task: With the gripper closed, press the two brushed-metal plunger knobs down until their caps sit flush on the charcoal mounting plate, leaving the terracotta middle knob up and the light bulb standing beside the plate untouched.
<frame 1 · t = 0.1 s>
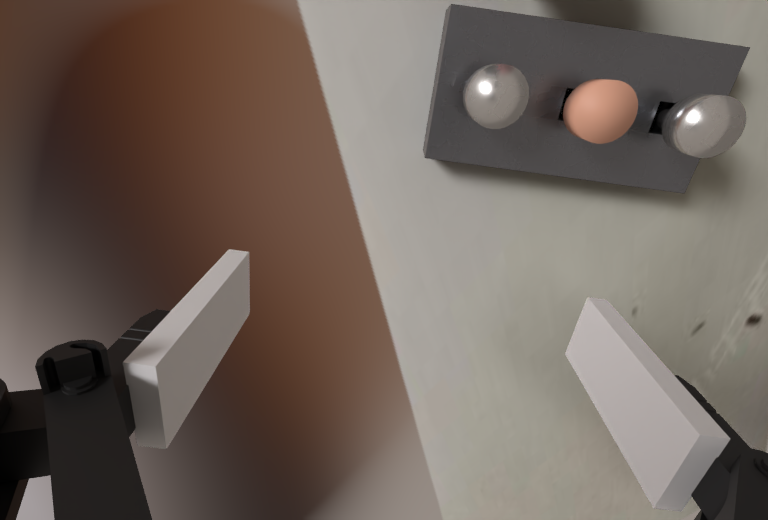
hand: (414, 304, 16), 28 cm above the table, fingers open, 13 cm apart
knob 2: (589, 108, 33), point 6 cm above the table, slide at 0.0 cm
mount plate: (560, 102, 39), on the table
knob 1: (489, 94, 33), point 7 cm above the table, slide at 0.0 cm
knob 3: (687, 122, 33), point 6 cm above the table, slide at 0.0 cm
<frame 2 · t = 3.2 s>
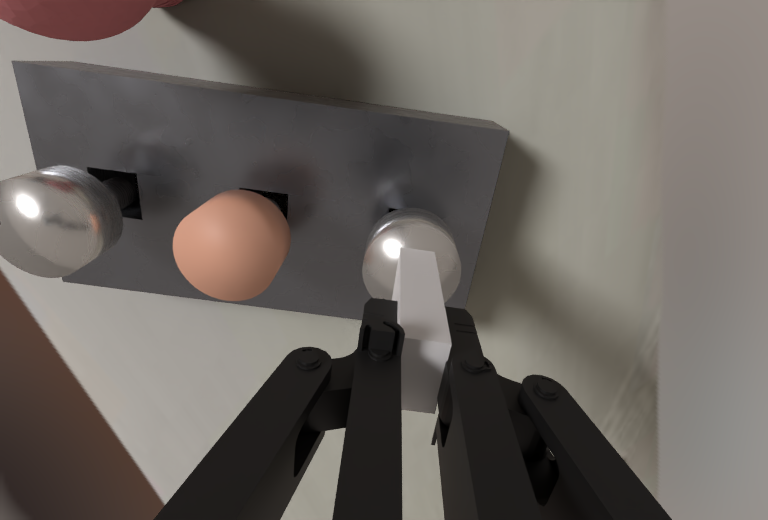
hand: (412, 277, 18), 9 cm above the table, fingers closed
knob 2: (248, 230, 20), point 6 cm above the table, slide at 0.0 cm
mount plate: (282, 193, 26), on the table
knob 1: (83, 208, 20), point 6 cm above the table, slide at 0.0 cm
knob 3: (410, 245, 21), point 6 cm above the table, slide at 0.8 cm, touching gripper
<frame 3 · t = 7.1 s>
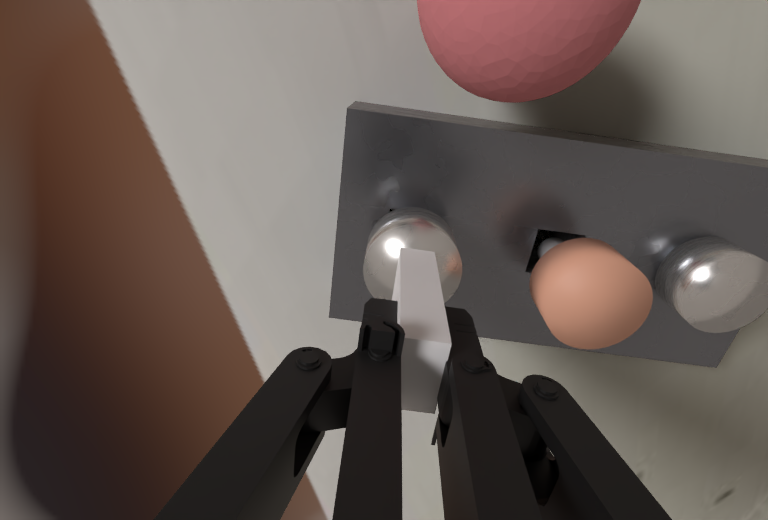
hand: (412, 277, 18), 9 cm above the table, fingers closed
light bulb: (479, 15, 22), on the table
knob 2: (572, 275, 20), point 6 cm above the table, slide at 0.0 cm
mount plate: (533, 228, 26), on the table
knob 1: (410, 245, 21), point 5 cm above the table, slide at 1.1 cm, touching gripper
knob 3: (691, 269, 23), point 3 cm above the table, slide at 3.0 cm, touching mount plate
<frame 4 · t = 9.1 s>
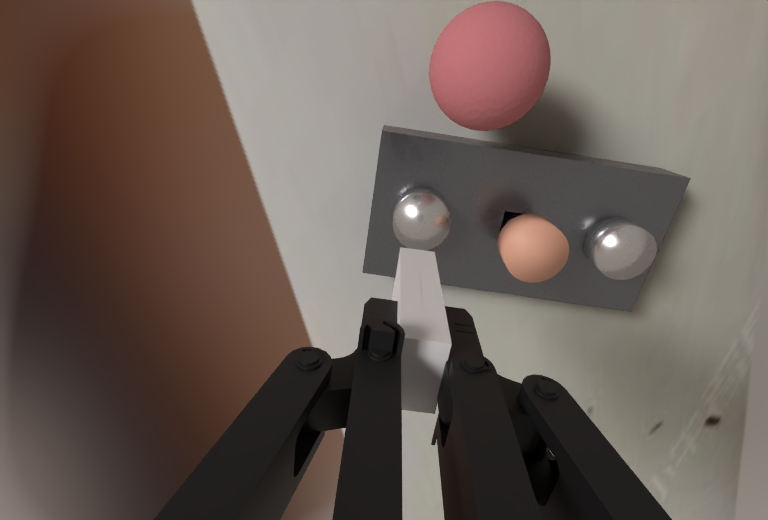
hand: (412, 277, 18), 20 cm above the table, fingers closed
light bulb: (466, 71, 33), on the table
knob 2: (524, 239, 32), point 6 cm above the table, slide at 0.0 cm
mount plate: (505, 213, 38), on the table
knob 1: (419, 212, 34), point 3 cm above the table, slide at 3.0 cm, touching mount plate
knob 3: (608, 240, 35), point 3 cm above the table, slide at 3.0 cm, touching mount plate
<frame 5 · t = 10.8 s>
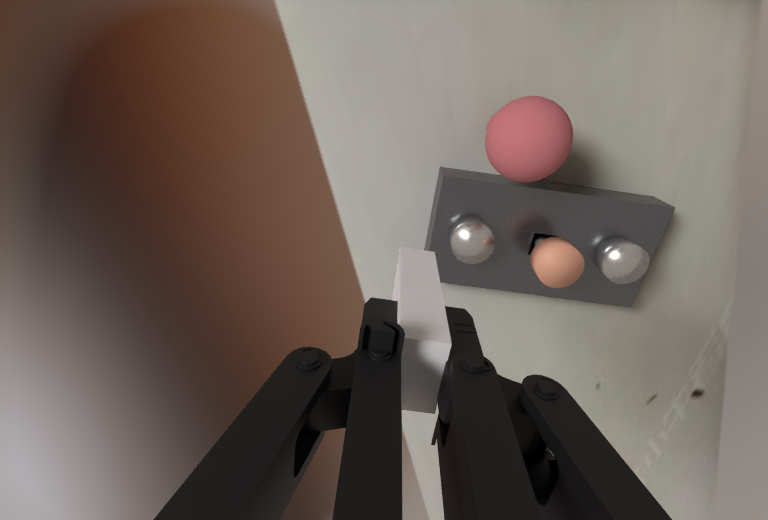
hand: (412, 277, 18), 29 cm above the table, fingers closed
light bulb: (504, 127, 44), on the table
knob 2: (550, 255, 42), point 6 cm above the table, slide at 0.0 cm
mount plate: (532, 232, 48), on the table
knob 1: (468, 233, 45), point 3 cm above the table, slide at 3.0 cm, touching mount plate
knob 3: (613, 253, 45), point 3 cm above the table, slide at 3.0 cm, touching mount plate
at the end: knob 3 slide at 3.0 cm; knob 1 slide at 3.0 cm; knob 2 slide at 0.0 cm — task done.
